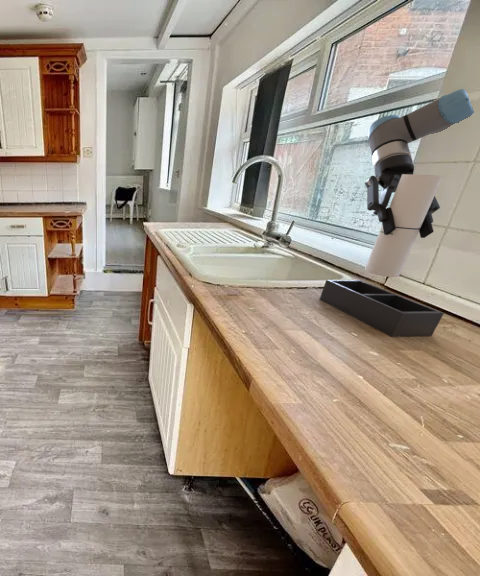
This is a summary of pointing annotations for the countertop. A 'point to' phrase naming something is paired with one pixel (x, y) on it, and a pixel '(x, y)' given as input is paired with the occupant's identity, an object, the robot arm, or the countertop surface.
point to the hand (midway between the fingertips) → (408, 233)
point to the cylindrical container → (403, 224)
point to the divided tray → (381, 308)
